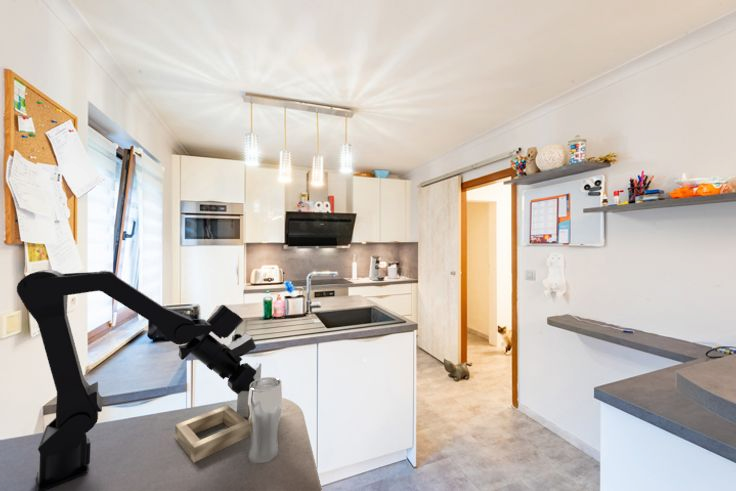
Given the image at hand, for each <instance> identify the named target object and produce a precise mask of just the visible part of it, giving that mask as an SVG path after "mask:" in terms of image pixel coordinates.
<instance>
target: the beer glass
mask: <svg viewBox="0 0 736 491" xmlns="http://www.w3.org/2000/svg"><path fill="white" fill-rule="evenodd" d="M282 403H283V392H282V380H281V379H280V378H278V377H274V376H273V377H269V376H268V377H267V376H266V377H261V378H260V379H257V380H255V381H253V382H252V383H251V384H250V385H249V396H248V417H247V419H248V422H249V425H250V439H251V440H250V446H249V451H248V459H249V461H250V462H252V463H254V464H265V463H268V462H270V461H272V460H273V459H275V458H276V457H277V456H278V454H279V450H280V449H279V442H278V430H279V424H280V419H281V413H282V406H283V405H282Z"/></svg>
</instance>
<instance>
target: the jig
mask: <svg viewBox="0 0 736 491" xmlns="http://www.w3.org/2000/svg"><path fill="white" fill-rule="evenodd" d="M222 423H224V424H225V426H227V427H228V428H225V429H223V430H220V431H219V432H218V431H217V432H215V433H213V434H212V435H210V436H207V437H204V438H202V439H200V437H198V435H197V433H198V434H199V433H201V432H202V431H205V430H208V429H210V428H212V427H215V426H218V425H220V424H222ZM174 426H175V427H174V439H175V440H176V441H177V442H178V444H179V445H180V447H181V448H182V449H183V450H184V451H185V453H186V454H187V456H188V457H189V458H190V459H191V461H192V462H193V463H196V462H198V461H200V460H202V459H203V460H204V459H205V458H208V457H209V456H211V455H213V454H215V453H217V452H219V451H222V450H224V449H226V448H227V447H230V446H232V445H234V444H236V443H239V442H241V441H242V440H244V439H245V440H246V438H249V437H251V431H250V425H249V420H247V419H246V417H242V416H241V415H239V414H238V413H237V410H234V409H233V408H232V407H231V406H229V405H224V406H221V407H219V408H216V409H214V410H211V411H208V412H205V413H202V414H200V415H197V416H195V417H192V418H190V419H186V420H184V421H182V422H178V423H176V424H175V425H174Z"/></svg>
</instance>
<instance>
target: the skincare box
mask: <svg viewBox="0 0 736 491" xmlns="http://www.w3.org/2000/svg"><path fill="white" fill-rule="evenodd" d="M246 363H247V364H249V365H250V366H251V367H252V368H254V369H255V370H256V374H255V375H254V377H253V378H254V379H255V380H257V379H260V378H262V362H246ZM248 396H249V392H247V391H241V392H240V393H239V394H237V399H236V400H237V401H236V412H237V413H238V414H239V415H241V416H242V417H243V418H248Z"/></svg>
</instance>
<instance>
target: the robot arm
mask: <svg viewBox="0 0 736 491" xmlns="http://www.w3.org/2000/svg"><path fill="white" fill-rule="evenodd" d="M16 292H17V295H18V297H19V299H20V300H21V302H22V304H23V305H24V307H25V309H26V310H27V311H28V313H29V314H30V316H31V317H32V318H33V319H34V320H35V321H36V323H37V326H38V329H39V333H40V336H41V340H42V343H43V347H44V348H43V349H44V350H45V354H46V358H47V361H48V365H49V368H50V373H51V376H52V379H53V383H54V387H55V390H56V405H55V406H56V407H55V418H54V419H53V420H51V422H49V423H48V424H47V425H46V426H45V429H44V430H43V435H42V436H41V439H40V443H39V444H38V447H37V451H38V452H39V453H38V469H37V470H38V471H36V484H37V491H41V490H43V491H46V490H47V489H50V488H52V487H54V486H58V485H61V484H63V483H65V482H67V481H69V480H72V479H75V478H77V477H80V476H82V475H85V474H87V473H88V471H89V470H88V465H90V462H91V440H90V438H88V435H87V433H88V432H89V431H91V430H92V429H93V428H94V427H95V425H96V424H97V422H98V420H99V413H100V412H102V411H103V396H101V395H100V393H99V381H96V382H94V383H92V384H89V383H88V382H87V380H86V379H85V377H84V373H83V370H82V367H81V366H82V365H81V362H80V359H79V355H78V351H77V346H76V343H75V340H74V336H73V332H72V328H71V324H70V320H69V317H68V301H69V300H68V297H69V296H72V295H78V294H84V293H85V294H87V293H92V292H101V293H104V294H105V295H107V296H108V297H110V298H111V299H113V300H115V301H117V302H118V303H119V304H121V305H123V306H124V307H127V308H128V309H129V310H131V311H133V312H135V313H136V314H137V315H140V316H141V317H142V318H143V319H146V320H147V321H149V322H151V324H152V325H154V326H155V327H156V329H158V330H159V331H160V333H162V334H163V335H164V336H165V337H166V338H167V339H168V340H169V341H171V343H173V344H175V345H178V349H179V350H178V357H179V358H180V360H181V361H184V360H185V359H186V358H187V357H188V356H189V355H192V356H193V357H194V358H196V360H198V361H200V362H201V363H202V364H203V365H205V366H206V367H207V369H209V370H211V371H213V372H214V373H216V374H217V375H218V376H219V377H220V378H221V379H222V380H224V379H227V386H228V388H229V389H230V390H231V391H232V392H234V393H235V394H236V395H238V394H239V393H240V392H241V391H247V392H249V385H250V384H251V383H252V382H253V381H255V379H254V378H253V377H254V375H255V374H256V370H255V369H254V368H252V367H251V366H250V365H249V364H247V363H248V362H244V363H241V361H243V356H245V355H246V354H248V353H249V352H251V351H254V350H255V349H257V345H256V343H255V341H254V338H253V336H251V335H250V334H248V333H243V334H240V333H238V332H236V333H234V332H235V330H236V329H237V328H238V327H239V326H240V325H241V324H242V323H243V322H244V319H243V318H242V317H241V316H240V315H239V314H238V313H236V312H234V311H233V310H231V309H230V308H229V307H228V306H226V304H221V305H220V306H219V307H218V309H216V311H215V312H214V313H213V314H212V315H211V316H210V317H209V318H208V319H207V320H206V319H203V318H202V319H201V318H197V319H196V318H190V317H189V316H188V315H185V314H182V313H181V312H178V311H176V310H173V309H171V308H167V307H165V306H163V305H161V304H159V303H158V302H157V301H155V300H154V299H152V298H150V297H149V296H147V295H146V294H144V293H143V292H141V291H139V290H138V289H137V288H135V287H133V286H132V285H131V284H129V283H127V282H126V281H124V280H123V279H121V278H120V277H119V276H117V275H116V273H114V272H113V271H110V270H100V271H92V272H91V271H90V272H71V273H70V272H69V273H61V272H59V271H57V270H54V269H53V270H52V269H42V270H39V271H34V272H31V273H29V274H28V275H26V276H23V278H22V279H21V280H20V281H19V282H18V283H17V286H16ZM211 333H212V334H213V335H215V336H216V337H218V339H221V340H222V338H223V339H226V338H227V339H228V338H229V337H230V336H231V335H232V337H231V341H230V343H229V344H228V345H226V344H225V343H221V342H220V341H219V340H218V339H216V337H214V336H213V335H211ZM232 333H234V334H232Z"/></svg>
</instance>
